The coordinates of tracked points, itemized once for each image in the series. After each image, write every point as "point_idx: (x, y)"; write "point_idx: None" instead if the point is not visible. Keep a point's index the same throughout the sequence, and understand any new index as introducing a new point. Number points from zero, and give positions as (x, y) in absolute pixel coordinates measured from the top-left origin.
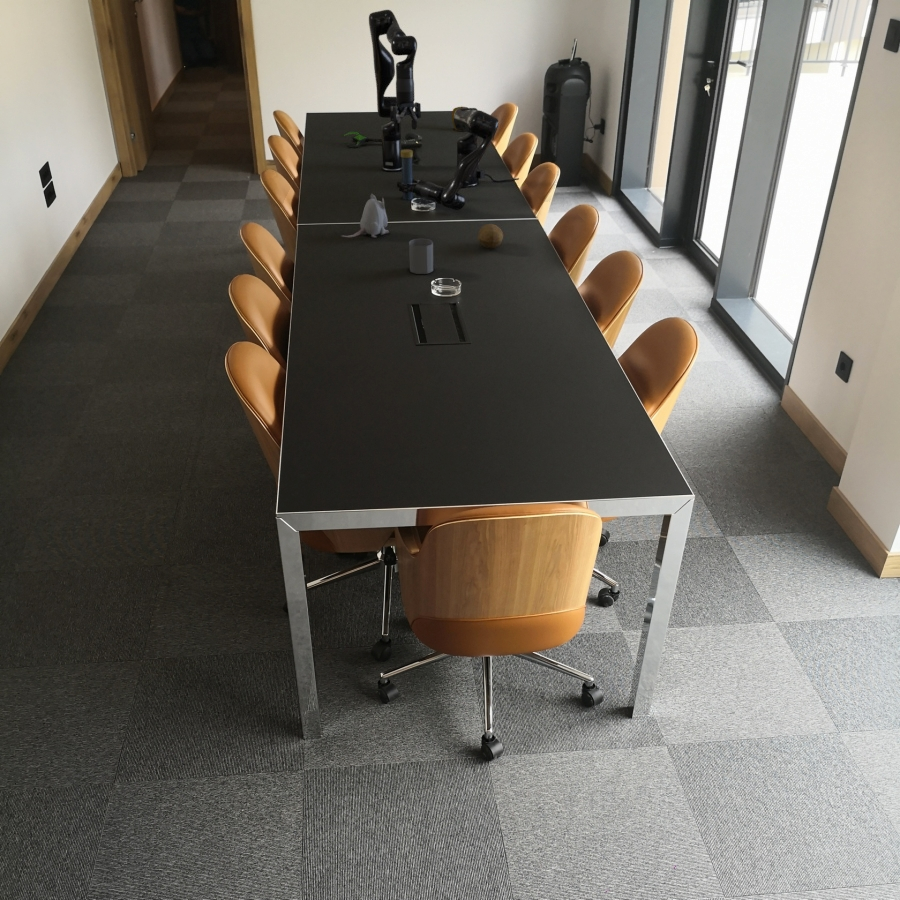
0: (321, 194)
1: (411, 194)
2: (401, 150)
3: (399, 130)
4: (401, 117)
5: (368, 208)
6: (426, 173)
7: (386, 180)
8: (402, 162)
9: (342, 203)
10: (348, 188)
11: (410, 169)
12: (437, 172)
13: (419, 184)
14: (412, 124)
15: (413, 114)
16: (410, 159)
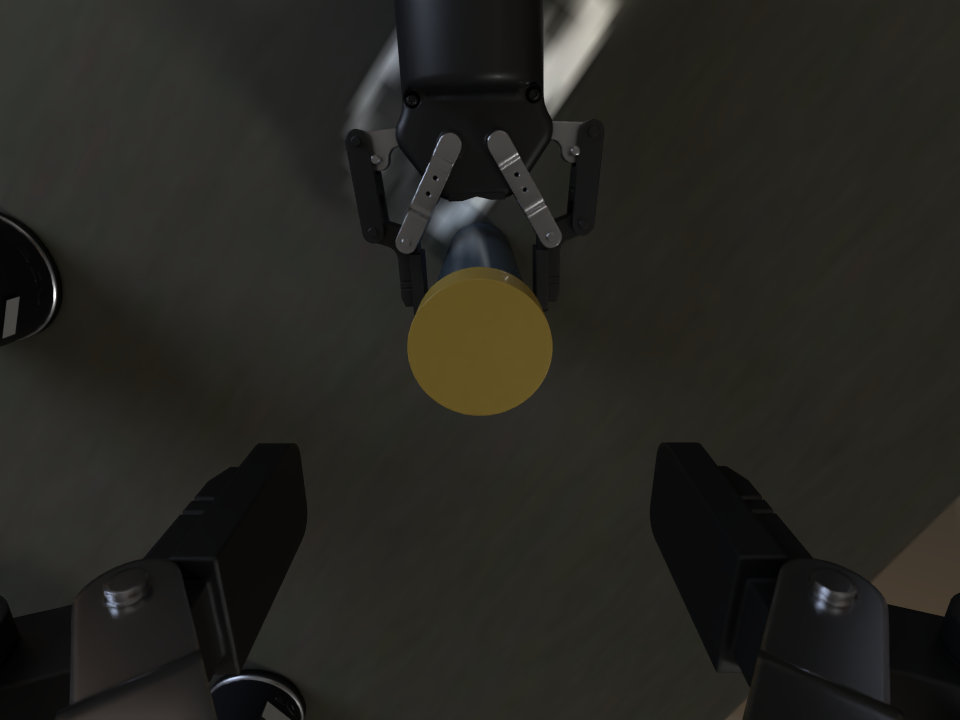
0: None
1: (472, 227)
2: (514, 402)
3: (698, 454)
4: (815, 673)
5: None
6: None
7: (383, 587)
8: None
9: (825, 399)
10: (621, 583)
11: (475, 253)
12: (66, 556)
13: (523, 34)
14: (276, 562)
15: (175, 709)
16: None
